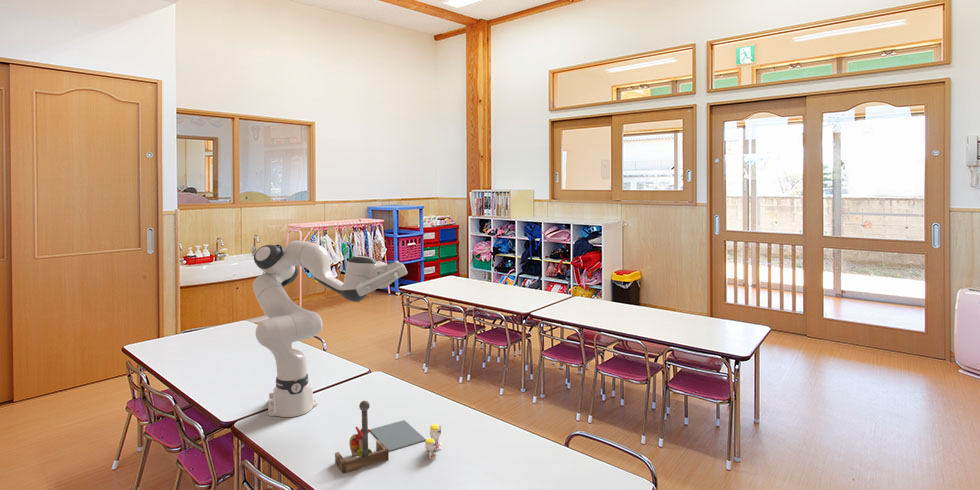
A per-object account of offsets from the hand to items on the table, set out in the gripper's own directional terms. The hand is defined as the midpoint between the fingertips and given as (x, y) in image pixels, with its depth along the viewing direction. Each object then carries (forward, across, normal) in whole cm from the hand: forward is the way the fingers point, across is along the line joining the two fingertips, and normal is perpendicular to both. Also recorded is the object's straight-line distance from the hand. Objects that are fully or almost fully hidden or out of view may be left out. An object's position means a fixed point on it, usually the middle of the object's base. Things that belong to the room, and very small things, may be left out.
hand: (382, 283), depth 197 cm
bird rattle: (+24, -32, +45) cm, 60 cm away
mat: (+12, -19, +50) cm, 55 cm away
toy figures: (+26, -9, +56) cm, 62 cm away
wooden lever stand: (+27, -31, +45) cm, 61 cm away
